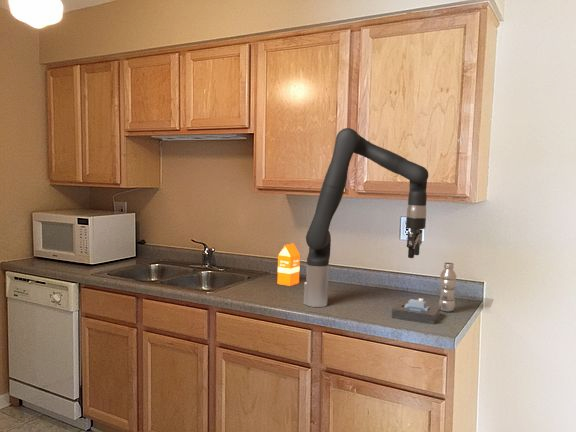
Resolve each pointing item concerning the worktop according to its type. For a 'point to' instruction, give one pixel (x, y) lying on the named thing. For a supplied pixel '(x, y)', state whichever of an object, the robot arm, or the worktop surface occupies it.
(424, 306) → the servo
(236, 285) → the worktop surface
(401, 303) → the block with stepped hole
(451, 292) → the plastic bottle
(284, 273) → the orange juice
